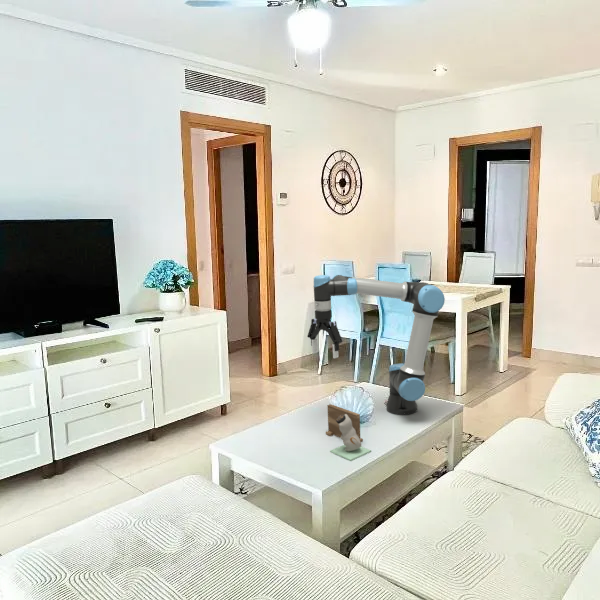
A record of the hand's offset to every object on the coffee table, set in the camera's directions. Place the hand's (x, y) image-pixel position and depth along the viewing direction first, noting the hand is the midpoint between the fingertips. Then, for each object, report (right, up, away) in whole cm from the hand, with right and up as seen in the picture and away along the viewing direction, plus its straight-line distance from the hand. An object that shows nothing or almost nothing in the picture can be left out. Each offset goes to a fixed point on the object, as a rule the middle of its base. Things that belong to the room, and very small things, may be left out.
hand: (325, 355), depth 246 cm
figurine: (+9, -37, -23) cm, 44 cm away
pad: (+9, -38, -23) cm, 45 cm away
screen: (+8, -35, -9) cm, 37 cm away
